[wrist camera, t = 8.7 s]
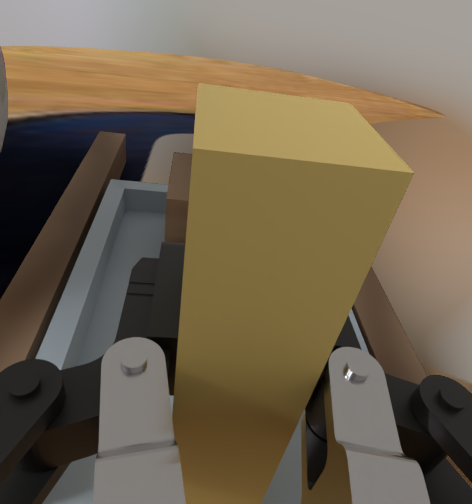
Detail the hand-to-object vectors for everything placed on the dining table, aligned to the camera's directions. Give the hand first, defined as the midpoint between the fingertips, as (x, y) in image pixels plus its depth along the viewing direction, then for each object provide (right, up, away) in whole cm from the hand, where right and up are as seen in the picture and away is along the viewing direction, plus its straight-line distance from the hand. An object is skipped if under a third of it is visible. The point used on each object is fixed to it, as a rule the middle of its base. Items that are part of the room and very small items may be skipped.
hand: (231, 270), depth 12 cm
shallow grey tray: (-1, -3, +8) cm, 9 cm away
